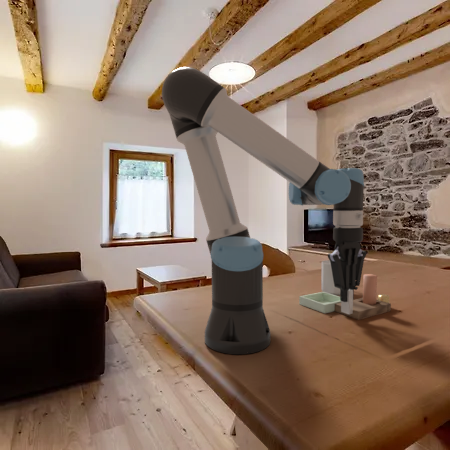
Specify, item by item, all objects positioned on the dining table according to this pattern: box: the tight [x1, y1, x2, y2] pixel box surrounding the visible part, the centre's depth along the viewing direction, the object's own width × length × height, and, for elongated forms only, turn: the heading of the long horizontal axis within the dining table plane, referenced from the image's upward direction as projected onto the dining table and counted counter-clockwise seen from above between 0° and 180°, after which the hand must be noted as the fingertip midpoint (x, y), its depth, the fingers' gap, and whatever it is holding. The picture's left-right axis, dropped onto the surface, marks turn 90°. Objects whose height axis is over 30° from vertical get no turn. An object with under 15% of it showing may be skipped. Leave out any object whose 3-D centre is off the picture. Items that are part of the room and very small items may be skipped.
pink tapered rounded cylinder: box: [362, 273, 378, 306], centre depth 94 cm, size 4×4×10 cm
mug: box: [320, 259, 340, 296], centre depth 115 cm, size 12×9×11 cm
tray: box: [298, 291, 341, 315], centre depth 98 cm, size 10×10×3 cm
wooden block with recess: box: [334, 297, 392, 321], centre depth 93 cm, size 14×8×3 cm, turn 120°
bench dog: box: [377, 293, 390, 303], centre depth 96 cm, size 3×3×4 cm
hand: (346, 312), depth 88 cm, fingers closed
